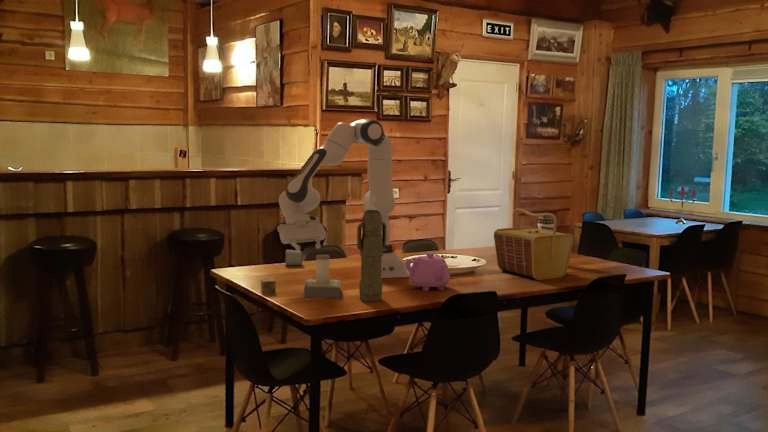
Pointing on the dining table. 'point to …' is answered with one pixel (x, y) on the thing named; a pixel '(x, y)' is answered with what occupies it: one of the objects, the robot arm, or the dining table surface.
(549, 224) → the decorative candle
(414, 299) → the dining table surface
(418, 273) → the purple piggy bank
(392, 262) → the robot arm
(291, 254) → the ceramic mug
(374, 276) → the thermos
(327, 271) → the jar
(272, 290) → the walnut cube
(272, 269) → the dining table surface
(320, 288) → the plinth
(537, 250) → the picnic basket
